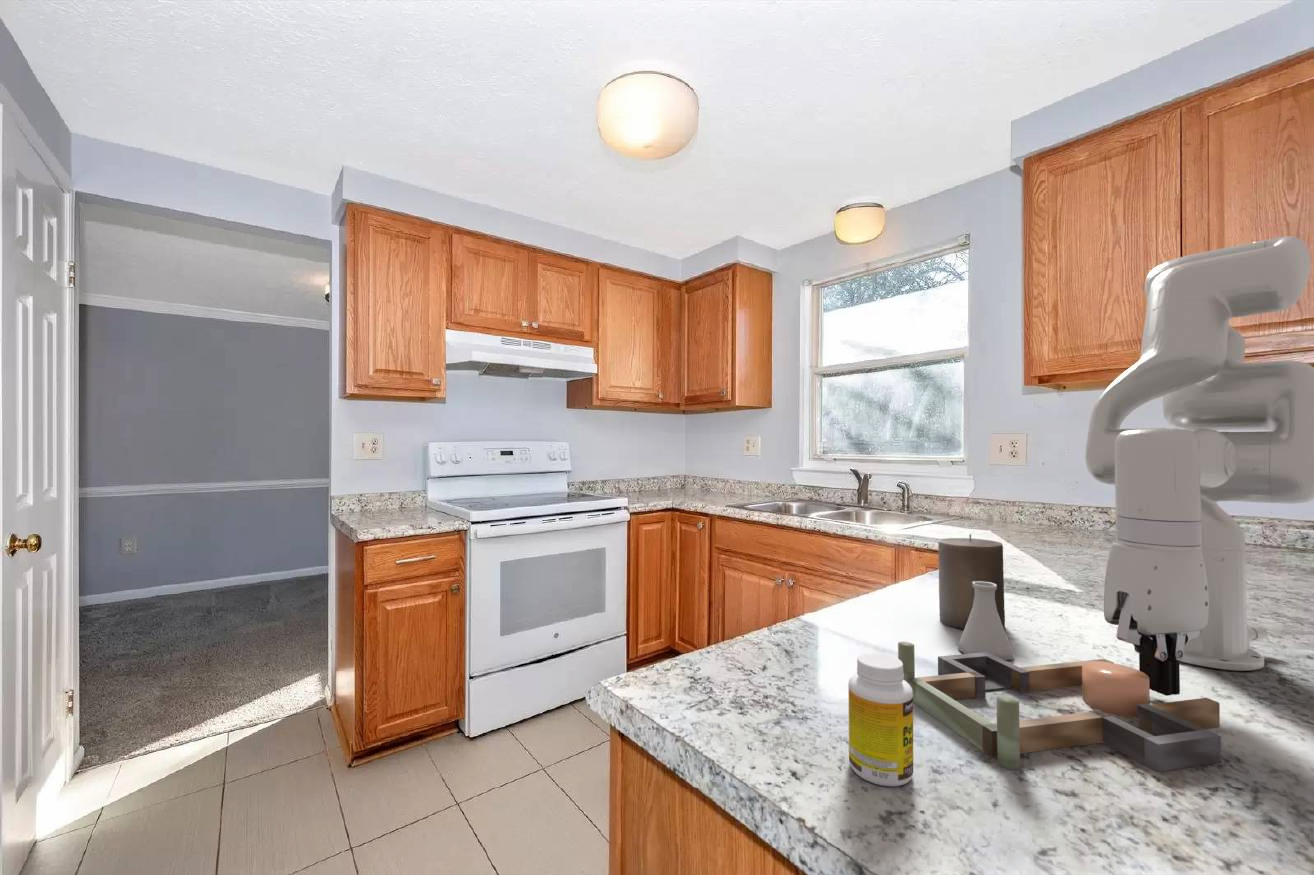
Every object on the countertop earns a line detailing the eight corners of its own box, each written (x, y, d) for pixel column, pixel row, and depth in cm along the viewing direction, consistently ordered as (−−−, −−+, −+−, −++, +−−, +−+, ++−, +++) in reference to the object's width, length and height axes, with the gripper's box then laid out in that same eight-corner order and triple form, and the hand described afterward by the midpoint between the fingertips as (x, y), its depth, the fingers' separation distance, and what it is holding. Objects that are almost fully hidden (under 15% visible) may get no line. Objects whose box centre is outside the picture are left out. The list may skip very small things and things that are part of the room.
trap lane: (1067, 663, 76) (1066, 619, 76) (1283, 752, 54) (1282, 690, 54) (880, 681, 71) (880, 634, 71) (1036, 790, 48) (1035, 721, 48)
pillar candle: (1018, 633, 89) (1016, 538, 89) (956, 632, 89) (955, 538, 89) (983, 615, 98) (982, 530, 99) (928, 614, 98) (926, 529, 99)
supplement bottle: (913, 796, 48) (912, 676, 48) (845, 780, 50) (844, 666, 50) (914, 763, 53) (913, 654, 53) (852, 749, 55) (851, 645, 55)
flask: (1024, 664, 76) (1023, 591, 76) (966, 660, 77) (965, 588, 78) (1002, 646, 83) (1001, 578, 83) (950, 642, 85) (949, 576, 85)
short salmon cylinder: (1110, 692, 68) (1109, 659, 68) (1164, 716, 62) (1163, 679, 62) (1069, 697, 66) (1068, 663, 66) (1120, 721, 60) (1120, 684, 60)
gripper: (1171, 527, 71) (1173, 672, 70) (1074, 530, 68) (1076, 682, 67) (1244, 536, 63) (1247, 698, 63) (1139, 541, 60) (1142, 711, 60)
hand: (1159, 689), depth 65 cm, fingers closed
